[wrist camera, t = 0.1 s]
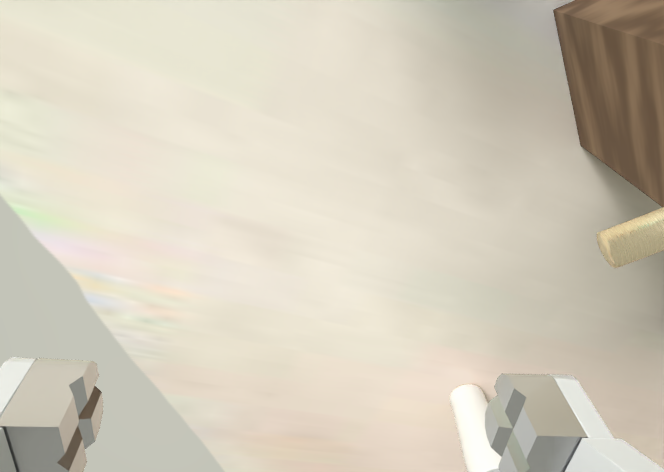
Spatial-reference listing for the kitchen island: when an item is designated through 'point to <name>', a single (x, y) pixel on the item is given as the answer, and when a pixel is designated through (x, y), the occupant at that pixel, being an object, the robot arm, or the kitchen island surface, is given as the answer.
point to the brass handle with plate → (633, 239)
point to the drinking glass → (473, 429)
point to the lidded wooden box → (618, 84)
